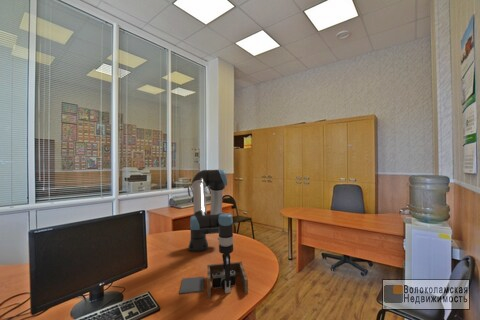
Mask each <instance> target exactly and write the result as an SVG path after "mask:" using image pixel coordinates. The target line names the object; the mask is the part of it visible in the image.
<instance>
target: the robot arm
mask: <svg viewBox="0 0 480 320" xmlns="http://www.w3.org/2000/svg"><path fill="white" fill-rule="evenodd" d="M227 186H228V178H227V173H226V170H224V169H203V170H200V171H198V172H197V173H196V174H195V175H194V176H193V178H192V181H191V188H192V195H193V215H191V216H190V219H189V224H190V225H189V227H190V239H189V243H188V251H190V252H192V253H201V252H204V251H207V250H208V249H209V242H208V240H207V235H211V234H218V238H217V240H218V251H219V253H220V254H222V255H221V257H222V263H223V267H224V268H223V269H225V279H224V281H225V291H224V293H225V294H229V293H230V294H231V290H232V289H231V288H230V281H231V278H230V263H231V253H233V252H234V229H233V227H234V220H233V214H231V213H225V212H222V211H223V190H225V187H227ZM206 187H208V189H209V190H210V214H208V212H207V201H206V199H207V198H206Z"/></svg>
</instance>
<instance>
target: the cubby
mask: <svg viewBox="0 0 480 320" xmlns="http://www.w3.org/2000/svg"><path fill="white" fill-rule="evenodd" d="M206 267H207V268H206V269H207V271H206V273H207V274H206V276H207V277H206V278H207V279H206V282H207V283H206V286H207V287H206V288H207V299H211V298H212V297H211V296H212V295H211V294H212V293H211V292H212V291H211V290H212V289H211V287H212V283H211V279H212V274H213V273H215V272H223V268H224V267H223V262H222V263H213V264H207V265H206ZM231 270H234V271H235V274H236V276H239V278H240V280H241V284H242V287H243V291H244V294H245V295H248V294H249V280H248V276H247V272H246V271H245V267H244V264H243V262H242V261H235V262H230V271H231Z"/></svg>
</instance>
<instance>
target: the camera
mask: <svg viewBox="0 0 480 320" xmlns="http://www.w3.org/2000/svg"><path fill="white" fill-rule="evenodd" d="M230 278H231V281H230V289H232V287H235V286H236V285H237V279H236V274H235V271H234V270H231V271H230ZM224 279H225V269H223V272H215V273H213V274H212V278H211V287H212V289H222V290H223V291H224V292H225V281H224Z"/></svg>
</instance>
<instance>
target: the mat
mask: <svg viewBox="0 0 480 320" xmlns="http://www.w3.org/2000/svg"><path fill="white" fill-rule="evenodd" d="M204 290H205V276H196V277H195V276H194V277H185V278H184V277H183V278H182V280H181V285H180V290H179V295H186V294H195V293H202V292H204Z"/></svg>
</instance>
